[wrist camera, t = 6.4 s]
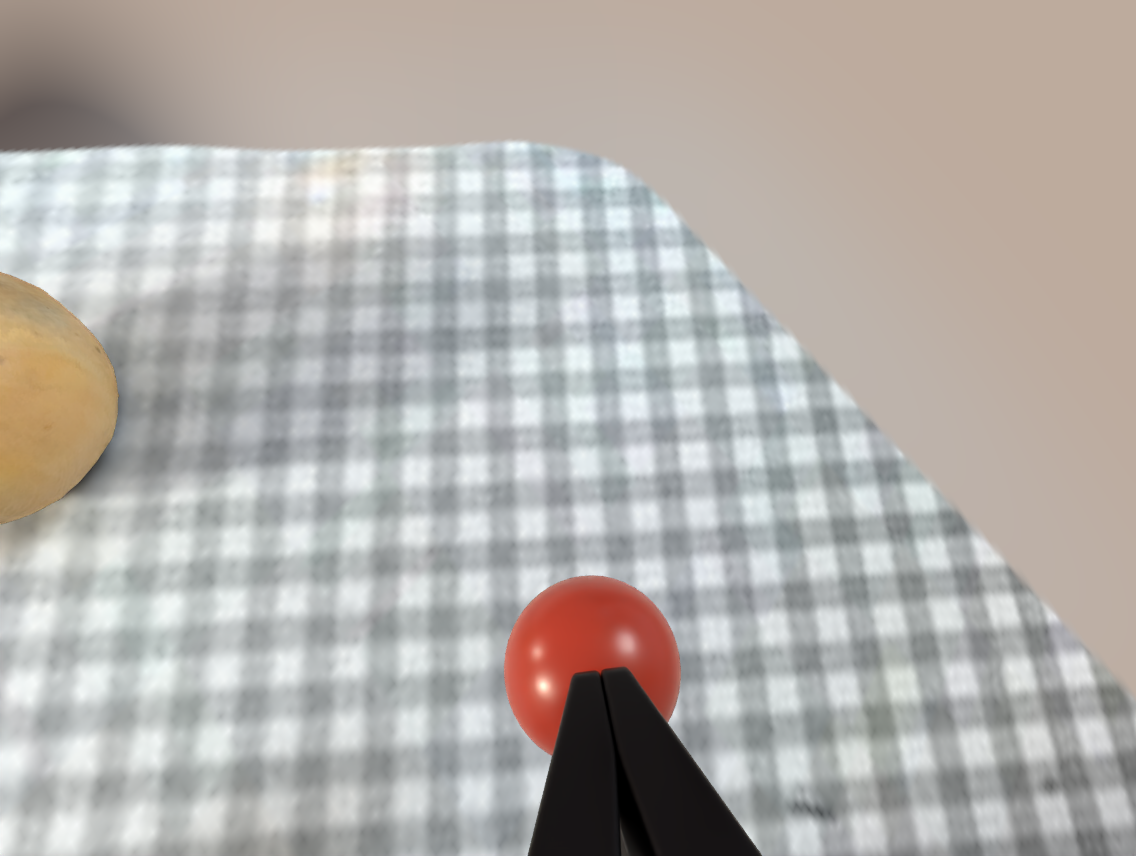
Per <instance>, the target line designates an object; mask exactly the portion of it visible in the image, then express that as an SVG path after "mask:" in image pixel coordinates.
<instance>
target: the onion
mask: <svg viewBox="0 0 1136 856" xmlns="http://www.w3.org/2000/svg"><path fill="white" fill-rule="evenodd" d="M118 397H119V395H118V392H117V382H116V376H115V374H114V368H113V367H112V365H111V363H110V360H109V358H108V356H107V354H106V353H105V351H104V349H103V347H102V345H101V344H100V343H99V341H98V340H97V339H96V338H95V336H94V335H93V334H92V333H91V332H90V331H89V330H88V329H87V328H86V327H85V326H84V325H83V324H82V322H81V321H80V320H79V319H77V318H76V317H75V316H74V315H73V314H72V313H71V312H70V311H68V310H67V309H66V308H65V307H64V306H63V305H62V304H61V303H60V302H58V301H57V300H55V299H54V298H52V297H51V296H50V295H49V294H48V293H47V292H45V291H44V290H42V289H41V288H39V287H36V286H34V285H32V284H30V283H27V282H25V281H23V280H21V279H18V278H16V277H13V276H11V275H8V274H5V273H1V272H0V524H4V523H7V522H10V521H14V520H17V519H19V518H22V517H25V516H28V515H30V514H33V513H35V512H37V511H39V510H41V509H43V508H45V507H46V506H48V505H50V504H52V503H54V502H56V501H58V500H60V499H61V498H63V497H64V495H65V494H66V493H67V492H68V491H69V490H71V489H72V488H73V487H74V486H75V485H77V484H78V483H79V482H80V481H81V480H82V478H84V476H85V475H86V474H87V472H88V471H89V470H91V468H92V466H93V465H94V464H95V463H96V462H97V460H98V459H99V457H100V455H101V454H102V453H103V451H104V450H105V448H106V446H107V445H108V444H109V442H110V441H111V439H112V437H113V433H114V430H115V425H116V421H117V413H118Z"/></svg>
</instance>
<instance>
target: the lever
mask: <svg viewBox="0 0 1136 856" xmlns="http://www.w3.org/2000/svg"><path fill="white" fill-rule="evenodd" d="M622 666H624V667H627V668H628V669H629V670H630V671H631V672H632V674H633V675H634V677H635V678H636V679H637V681H638V682H639V684H640V685H641V686H642V688H643V689H644V691H645V692H646V693H647V695H648V696H649V698H650V699H651V700H652V702H653V703H654V705H655V706H656V707H657V709H658V710H659V712H660V713H661V714H662V716H663V717H664V719H665V720H666V721H667V723H668V721H669V719H670V718H671V716H672V713H673V711H674V708H675V706H676V702H677V698H678V694H679V688H680V681H681V666H680V658H679V652H678V648H677V644H676V641H675V638H674V635H673V632H672V630H671V628H670V626H669V624H668V622H667V620H666V619H665V617H664V616H663V614H662V613H661V611H660V610H659V609H658V608H657V607H656V606H655V604H654V603H653V602H652V601H651V600H650V599H649V598H647V597H646V596H645V595H644V594H643V593H641V592H640V591H639V590H637V589H636V588H634V587H632V586H630V585H628V584H626V583H624V582H622V581H619V580H616V579H613V578H608V577H604V576H579V577H574V578H569V579H567V580H564V581H561V582H558V583H556V584H554V585H552V586H550V587H549V588H547V589H546V590H544V591H543V592H541V593H540V594H539V595H538V596H537V597H535V598H534V599H533V600H532V601H531V602H530V603H529V605H528V606H527V607H526V608H525V609H524V611H523V612H522V614H521V615H520V616H519V618H518V620H517V622H516V624H515V625H514V627H513V629H512V632H511V635H510V638H509V640H508V644H507V649H506V653H505V663H504V678H505V686H506V692H507V696H508V699H509V703H510V705H511V708H512V710H513V713H514V715H515V717H516V719H517V721H518V722H519V724H520V726H521V727H522V729H523V730H524V731H525V733H526V734H527V735H528V736H529V737H530V739H531V740H532V741H533V742H534V743H535V744H536V745H537V746H539V747H540V748H541V749H543V750H544V751H545V752H546V753H548V754H550V755H553V751H554V747H555V742H556V738H557V734H558V730H559V726H560V722H561V718H562V714H563V710H564V706H565V702H566V698H567V694H568V690H569V686H570V681H571V678H572V676H573V674H575V673H578V672H585V671H592V670H596V671H598V672H599V673H601V671H602V670H603V669H607V668H614V667H622ZM620 836H621V856H627V853H626V850H625V846H624V841H623V837H622V833H621V828H620Z"/></svg>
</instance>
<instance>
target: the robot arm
mask: <svg viewBox="0 0 1136 856" xmlns="http://www.w3.org/2000/svg"><path fill="white" fill-rule="evenodd" d="M620 828H621V833H622V837H623V841H624V846H625V850H626V853H627V856H762V855H761V853H760V852H759V850H758V849H757V848H756V846H755V845H754V843H753V842H752V841H751V839H750V838H749V836H748V835H747V834H746V832H745V831H744V829H743V828H742V827H741V825H740V824H739V822H738V821H737V820H736V818H735V817H734V815H733V814H732V813H731V811H730V810H729V808H728V807H727V806H726V804H725V803H724V801H723V800H722V799H721V797H720V796H719V794H718V793H717V792H716V790H715V789H714V787H713V786H712V785H711V783H710V782H709V780H708V779H707V778H706V776H705V775H704V773H703V772H702V771H701V769H700V768H699V766H698V765H697V764H696V762H695V761H694V759H693V758H692V757H691V755H690V754H689V752H688V751H687V750H686V748H685V747H684V745H683V744H682V743H681V741H680V740H679V738H678V737H677V736H676V734H675V733H674V731H673V730H672V728H671V727H670V726H669V724H668V723H667V721H666V720H665V719H664V717H663V716H662V714H661V713H660V712H659V710H658V709H657V707H656V706H655V705H654V703H653V702H652V700H651V699H650V698H649V696H648V695H647V693H646V692H645V691H644V689H643V688H642V686H641V685H640V684H639V682H638V681H637V679H636V678H635V677H634V675H633V674H632V672H631V671H630V670H629V669H628V668H627V667H624V666H622V667H614V668H607V669H603V670H602V671H601V673H599V672H598V671H596V670H592V671H585V672H578V673H575V674H573V676H572V678H571V681H570V686H569V690H568V694H567V698H566V702H565V706H564V710H563V714H562V718H561V722H560V726H559V730H558V734H557V738H556V742H555V747H554V751H553V755H552V759H551V763H550V767H549V771H548V775H547V779H546V783H545V787H544V791H543V795H542V799H541V803H540V808H539V812H538V816H537V820H536V824H535V828H534V832H533V836H532V840H531V844H530V848H529V852H528V856H621V836H620Z"/></svg>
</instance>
